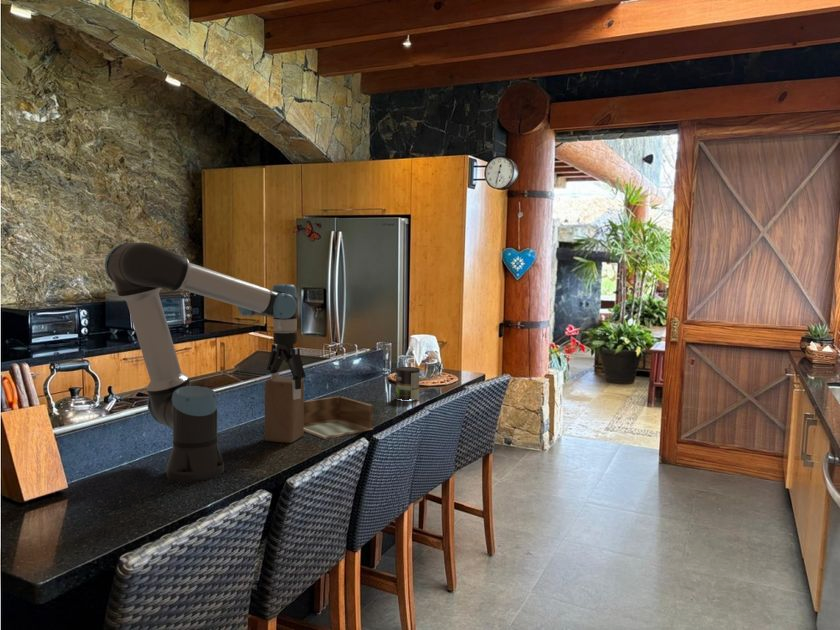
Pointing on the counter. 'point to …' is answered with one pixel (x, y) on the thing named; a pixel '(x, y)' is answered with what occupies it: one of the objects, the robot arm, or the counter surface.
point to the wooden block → (283, 411)
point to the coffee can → (407, 383)
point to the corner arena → (337, 417)
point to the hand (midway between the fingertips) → (285, 395)
